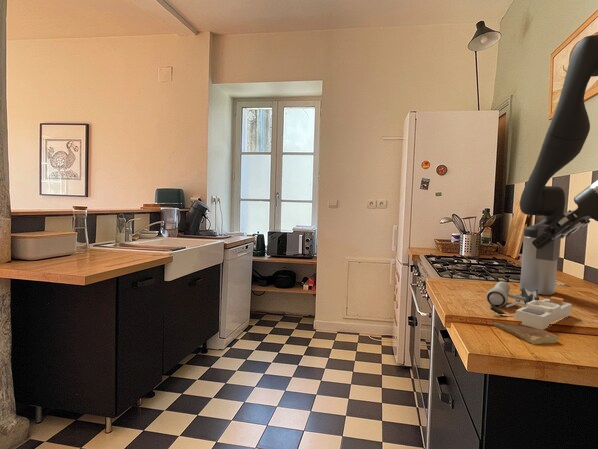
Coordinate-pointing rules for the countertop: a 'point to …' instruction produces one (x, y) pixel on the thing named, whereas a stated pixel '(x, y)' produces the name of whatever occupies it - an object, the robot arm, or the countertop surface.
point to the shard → (528, 333)
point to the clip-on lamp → (501, 294)
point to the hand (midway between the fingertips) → (539, 245)
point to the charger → (548, 247)
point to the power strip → (543, 312)
